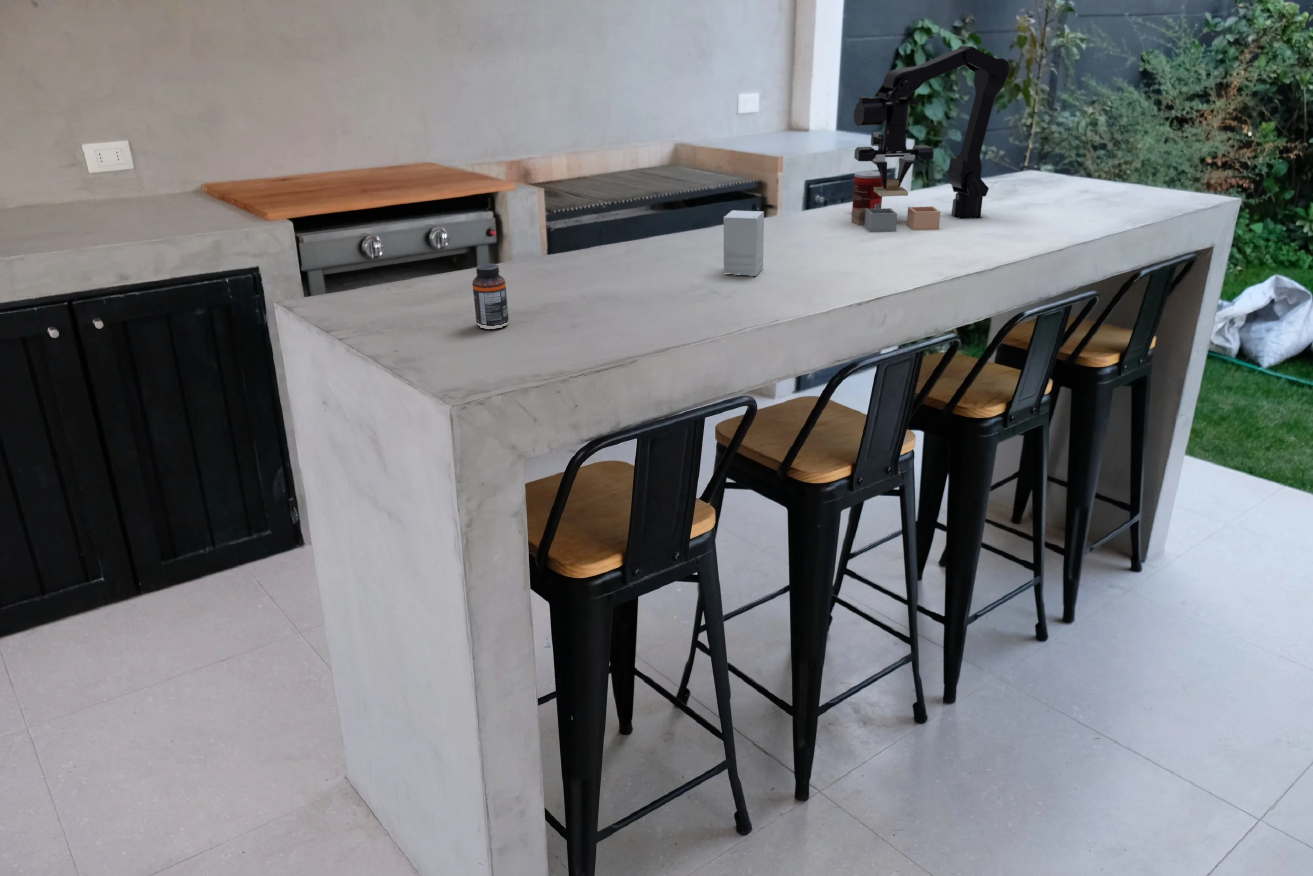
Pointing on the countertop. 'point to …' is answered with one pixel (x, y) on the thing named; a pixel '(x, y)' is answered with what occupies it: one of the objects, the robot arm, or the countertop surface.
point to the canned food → (866, 190)
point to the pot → (923, 218)
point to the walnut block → (858, 216)
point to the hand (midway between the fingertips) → (891, 188)
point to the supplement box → (743, 242)
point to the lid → (891, 189)
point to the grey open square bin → (880, 220)
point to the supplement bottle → (490, 296)
